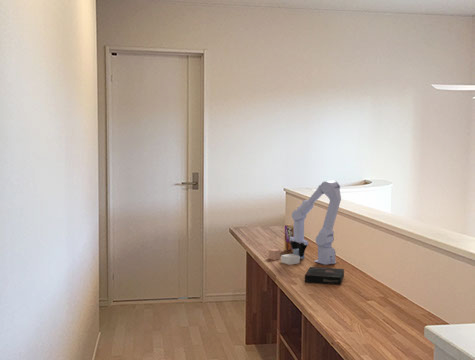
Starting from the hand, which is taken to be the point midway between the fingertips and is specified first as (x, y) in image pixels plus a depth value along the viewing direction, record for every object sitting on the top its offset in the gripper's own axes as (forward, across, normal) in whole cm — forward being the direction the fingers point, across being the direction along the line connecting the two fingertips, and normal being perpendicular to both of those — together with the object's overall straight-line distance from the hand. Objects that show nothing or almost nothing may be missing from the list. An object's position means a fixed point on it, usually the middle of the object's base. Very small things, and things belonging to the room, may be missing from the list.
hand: (298, 255), depth 312 cm
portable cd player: (+2, +42, -16) cm, 45 cm away
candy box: (+2, -17, +8) cm, 19 cm away
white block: (+2, +6, -10) cm, 12 cm away
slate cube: (+1, 0, 0) cm, 1 cm away
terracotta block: (+2, -6, -12) cm, 14 cm away
